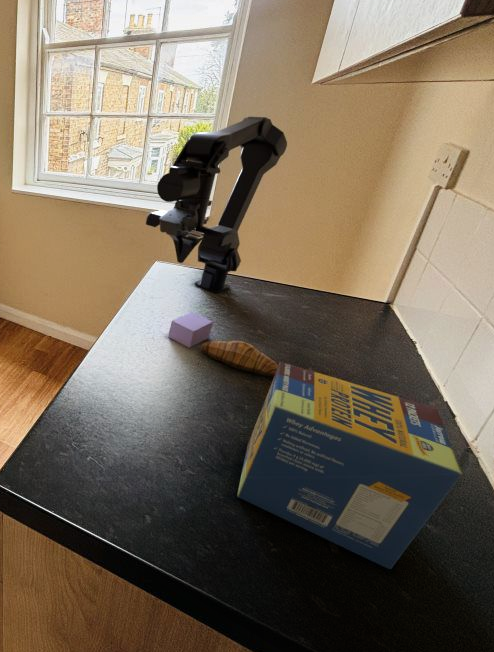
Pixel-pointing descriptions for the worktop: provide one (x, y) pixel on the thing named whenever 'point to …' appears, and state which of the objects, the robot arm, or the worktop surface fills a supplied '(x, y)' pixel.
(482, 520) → the worktop surface
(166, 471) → the worktop surface
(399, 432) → the protein box
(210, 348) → the croissant
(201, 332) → the block
